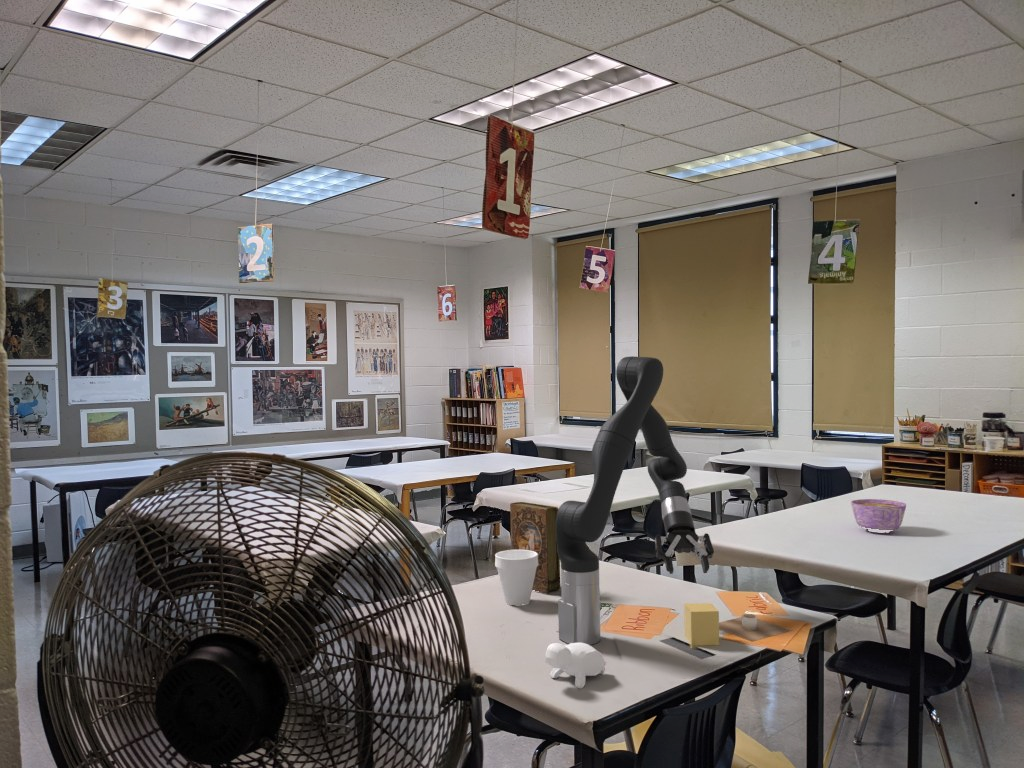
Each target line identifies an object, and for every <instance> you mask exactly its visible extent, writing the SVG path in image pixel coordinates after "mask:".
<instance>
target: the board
mask: <svg viewBox="0 0 1024 768" xmlns="http://www.w3.org/2000/svg"><path fill="white" fill-rule="evenodd" d="M719 631H722V632H725V633H728V634H730V635H733V636H735V637H739V638H740V639H744V640H747V641H750V642H756V641H759V640H763V639H766V638H770V637H774V636H777V635H781V634H784V633H789V632H792V631H793V630H792V629H790V628H787V627H783V626H780V625H777V624H774V623H772V622H769V621H766V620H762V619H759V618H757V629H756V630H746V629H743V628H742V616H740V617H736V618H731V619H728V620H724V621H719Z"/></svg>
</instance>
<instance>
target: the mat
mask: <svg viewBox="0 0 1024 768" xmlns="http://www.w3.org/2000/svg"><path fill="white" fill-rule="evenodd" d="M659 642H661V643H663V644H665V645H668V646H670V647H672V648H675V649H677V650H680V651H682V652H684V653H686V654H689V655H691V656H694V657H695V658H698V659H701V660H703V659H707V658H710V657H714V656H717V654H716V653H713V652H711V651H708V650H706V649H703V648H701V649H692V648H691V647H690V646H689V644H690V643H689V642H685V641H684V640H681V639H679V638H676V637H674V636H672V637H669V638H668V637H667V638H665V639H661V640H659ZM688 643H689V644H688Z"/></svg>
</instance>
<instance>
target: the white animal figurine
mask: <svg viewBox="0 0 1024 768" xmlns="http://www.w3.org/2000/svg"><path fill="white" fill-rule="evenodd" d="M544 658H545V663H547V665H549V666H551V668H552V670H551V671H550V673H549V678H550V677H551V678H550V679H553V678H555V679H557V678H558V677H559V676H561V674H562V673H565V674H567V675H570V676H572V677H575V679H574V680H575V681H574V686H575V687H576V688H577V689H583V688H584V686H585V684H586V677H592V676H594V677H595V676H598V675H599V674H600V675H602V676H604V675H605V672H606V667H605V666H606V665H607V661H605V659H604V656H603V654H602V653H601V652H600V651H598V650H597V649H596V648H595V647H593V646H592V645H591V644H590V645H588V644H585V643H570V644H568V643H567V644H562V643H559V642H553V643H550V644H548V647H547V648H546V651H545V655H544Z"/></svg>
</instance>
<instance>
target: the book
mask: <svg viewBox="0 0 1024 768" xmlns="http://www.w3.org/2000/svg"><path fill="white" fill-rule="evenodd" d="M558 509H559V507H558V506H553V505H547V504H540V503H539V504H538V503H534V502H525V501H517V502H511V503H510V505H509V510H510V515H509V516H510V550H530V551H534V552H536V553H537V554H538V566H537V568H536V573H535V578H534V582H533V587H532V590H535V591H534V592H536V591H539V592H538V593H540V592H542V593H541V594H545V593H546V594H548V593H549V592H553V591H558V590H560V589H561V562H560V559H559V557H558V552H557V538H556V516H557V512H558Z"/></svg>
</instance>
